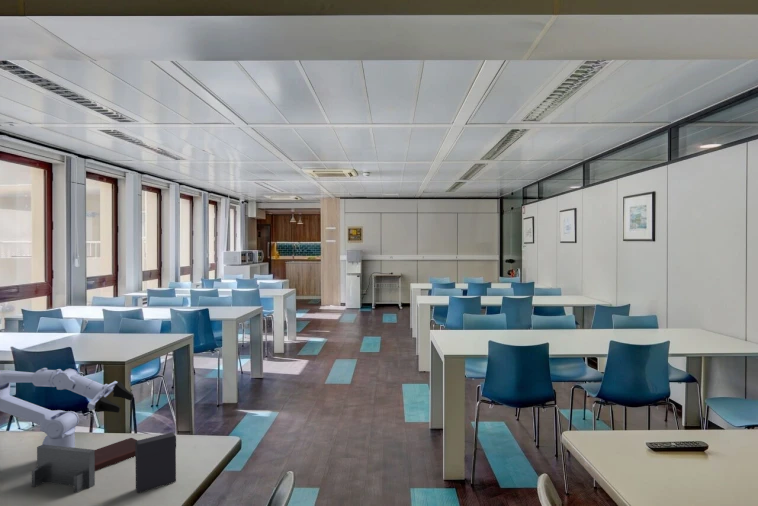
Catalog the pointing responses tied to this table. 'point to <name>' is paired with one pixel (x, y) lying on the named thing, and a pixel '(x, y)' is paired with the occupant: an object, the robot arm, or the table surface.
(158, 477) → the upright charcoal tile
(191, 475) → the table surface
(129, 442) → the book
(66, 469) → the bookend
